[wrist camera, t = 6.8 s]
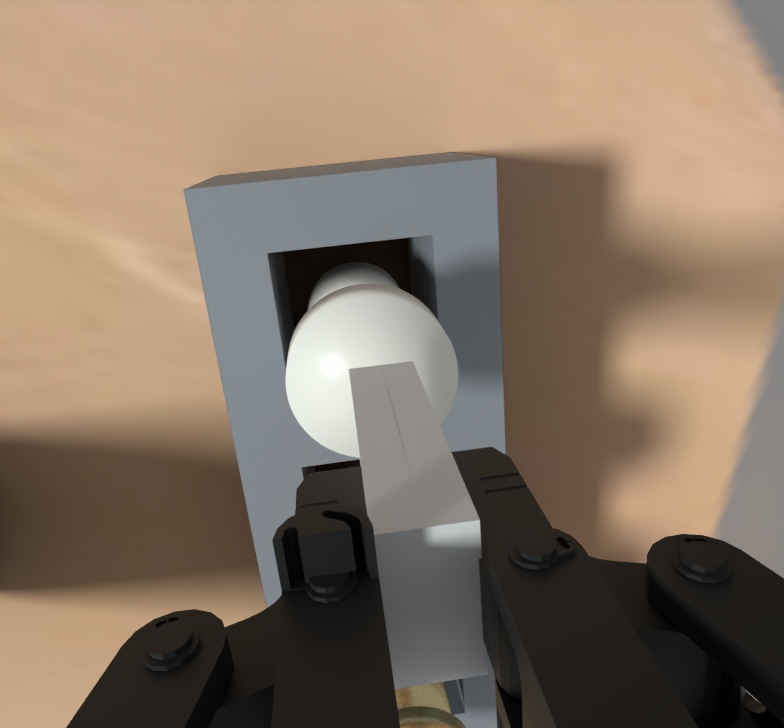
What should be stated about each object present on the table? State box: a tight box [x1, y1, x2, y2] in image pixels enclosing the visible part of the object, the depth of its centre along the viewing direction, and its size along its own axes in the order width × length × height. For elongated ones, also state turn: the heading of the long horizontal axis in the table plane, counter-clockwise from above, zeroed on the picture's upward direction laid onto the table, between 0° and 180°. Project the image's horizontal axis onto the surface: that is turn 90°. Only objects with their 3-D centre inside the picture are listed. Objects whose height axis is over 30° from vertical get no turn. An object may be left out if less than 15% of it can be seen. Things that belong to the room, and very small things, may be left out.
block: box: [184, 152, 506, 728], centre depth 28 cm, size 26×10×7 cm, turn 5°
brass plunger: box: [395, 681, 466, 728], centre depth 26 cm, size 5×5×7 cm
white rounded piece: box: [285, 262, 458, 458], centre depth 20 cm, size 5×5×7 cm
